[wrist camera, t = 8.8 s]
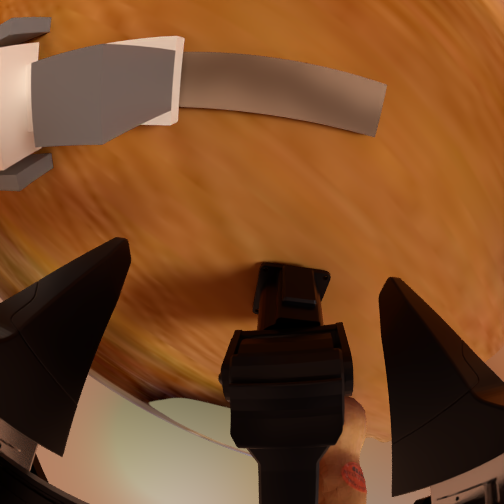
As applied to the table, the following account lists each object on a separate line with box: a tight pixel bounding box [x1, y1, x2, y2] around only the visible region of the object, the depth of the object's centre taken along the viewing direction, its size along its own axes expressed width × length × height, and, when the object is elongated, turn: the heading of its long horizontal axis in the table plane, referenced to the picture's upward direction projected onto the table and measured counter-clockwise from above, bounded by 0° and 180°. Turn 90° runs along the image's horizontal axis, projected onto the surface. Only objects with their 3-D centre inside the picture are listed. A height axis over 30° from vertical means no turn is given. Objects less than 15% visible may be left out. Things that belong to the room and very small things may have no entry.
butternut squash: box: [318, 396, 367, 504], centre depth 30 cm, size 14×13×25 cm
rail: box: [179, 52, 387, 137], centre depth 16 cm, size 4×16×1 cm, turn 83°
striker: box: [0, 36, 185, 171], centre depth 12 cm, size 10×15×10 cm, turn 83°
